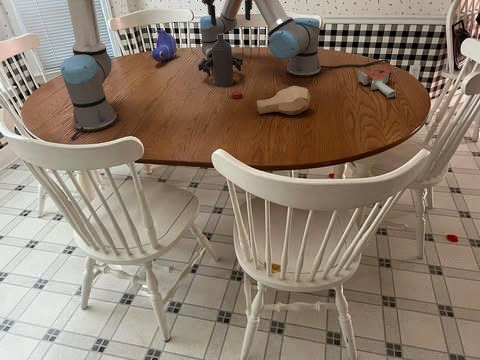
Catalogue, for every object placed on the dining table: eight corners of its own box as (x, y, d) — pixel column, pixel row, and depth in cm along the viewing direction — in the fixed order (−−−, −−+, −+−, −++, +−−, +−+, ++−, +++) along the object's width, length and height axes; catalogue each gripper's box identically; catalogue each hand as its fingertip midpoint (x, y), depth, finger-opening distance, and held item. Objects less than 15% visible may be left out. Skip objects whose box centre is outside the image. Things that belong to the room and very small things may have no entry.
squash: (314, 116, 128) (313, 95, 122) (259, 125, 130) (256, 105, 124) (308, 99, 136) (307, 78, 129) (257, 108, 138) (253, 88, 131)
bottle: (217, 88, 155) (213, 37, 142) (213, 81, 161) (208, 33, 149) (236, 84, 157) (233, 35, 144) (230, 78, 163) (227, 30, 151)
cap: (240, 94, 148) (239, 90, 146) (242, 98, 145) (242, 93, 143) (231, 95, 147) (230, 91, 146) (233, 99, 144) (233, 95, 143)
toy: (165, 61, 201) (145, 67, 179) (160, 29, 194) (139, 31, 172) (181, 61, 199) (163, 66, 177) (177, 28, 192) (158, 30, 170)
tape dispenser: (391, 103, 136) (403, 82, 149) (394, 90, 133) (407, 70, 145) (346, 93, 144) (362, 74, 156) (348, 81, 140) (364, 62, 153)
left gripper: (255, -50, 123) (256, 16, 136) (187, -45, 115) (195, 25, 127) (266, -50, 118) (266, 19, 130) (195, -44, 109) (202, 29, 122)
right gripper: (240, 60, 174) (252, 74, 157) (189, 67, 169) (197, 82, 153) (239, 44, 170) (252, 57, 153) (187, 51, 165) (194, 65, 148)
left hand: (231, 22), depth 129 cm, fingers open, 13 cm apart
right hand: (224, 70), depth 153 cm, fingers open, 13 cm apart
